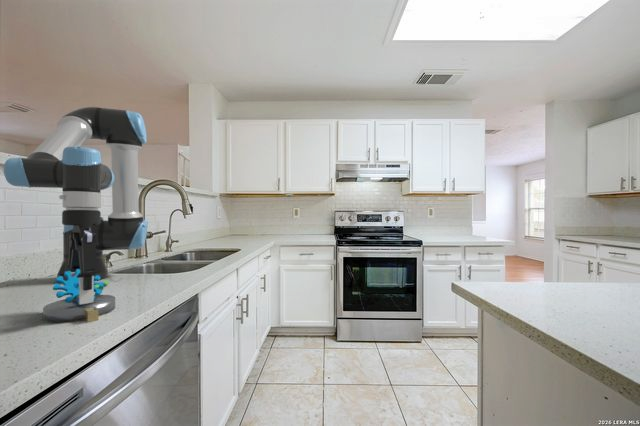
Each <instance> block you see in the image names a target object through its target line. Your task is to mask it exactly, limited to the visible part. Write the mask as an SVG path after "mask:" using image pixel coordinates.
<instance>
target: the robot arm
mask: <svg viewBox="0 0 640 426" xmlns="http://www.w3.org/2000/svg"><path fill="white" fill-rule="evenodd" d="M147 138H148V137H147V129H146V125H145V120H144V118H143V117H142V115H141V114H140V113H139V112H135V111H131V110H127V109H115V108H114V109H113V108H106V107H97V106H88V107H82V108H78V109H75V110H72V111H70V112H68V113H66V114H64V115H63V116H62V117H61V118H60V119H59V120H58V121H57V127H56V129H54V131H52V132H51V133H50V135H48V137H46V139H44V140H43V142H41V144H39V146H37V148H35V149H34V151H33V152H32V153H30V154H29V155H28V156H27V157H21V156H20V157H9V158H7V159H6V160H5V162H4V165H3V176H4V179H5V181H6V182H7V183H8V184H10V185H11V186H13V187H22V188H24V187H26V188H49V189H50V188H54V189H57V188H59V189H62V194H61V195H59V196H58V197H59V199H60V200H62V208H64V210H62V212H61V225H63V232H62V236H63V237H62V240H63V242H62V243H63V247H62V250H63V253H62V254H63V257H62V263H61V264H60V268H59V269H58V272H57V274H56V278H57V277H59V276H62V277H63V280H64V281H67V280H68V279H67V277H66V276H64V273H65V272H66V271H71V275H70V276H71V277H74V276H75V275H76V273H75V272H76V270H77V269H80V275H77V278H79V296H78V297H79V305H81V304H86V303H91V302H94V294H95V292H94V282H95V280H94V277H95V276H97V275H99V276H100V278H101V279H100V280H103V279H105V278H108V277H109V270H108V268H107V265H106V262H105V259H104V256H103V253H104V252H103V251H117V250H118V251H120V250H121V251H123V250H124V251H125V250H128V251H130V250H139V249H142V248H143V247H144V246H145V243H146V239H147V235H148V227H149V225H148V220H146V219H144V215H143V214H142V213H141V212H139V211H140V210H139V164H138V163H139V162H138V161H139V159H138V157H139V155H138V154H139V153H138V152H139V151H140V150H141V149H143V144H146V143H147V142H148V141H147ZM90 140H103V141H105V142H106V143H105V144H106V146H107V147H108V148H109V149H110V153H111V157H110V158H111V169H110V167H108V166H107V165H105V164H103V162H102V156H101V155H102V154H101V152H100V150H98V149H96V148H95V149H94V148H90V147H85V146H84V147H83V146H82V145H83V143H86V142H88V141H90ZM110 187H111V195H112V196H111V198H112V199H111V200H112V203H111V204H112V211H111V213H109V215H108V216H107V220H104V218H103V217H102V216H101V215H102V214H101V211H100V210H99V209H100V208H101V207H102V192H101V191H102V190H103V191H104V190H106V189H109V188H110ZM70 296H72V295H69V297H70Z"/></svg>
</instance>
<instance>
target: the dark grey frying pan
mask: <svg viewBox="0 0 640 426" xmlns="http://www.w3.org/2000/svg"><path fill="white" fill-rule="evenodd" d="M94 296H95V295H94ZM65 299H66V298H64V299H61V300H56V301H54V302H50V303H47V304H46V305H44V306H43V308H42V320H43V321H44V322H47V323H54V324H55V323H56V324H57V323H58V324H59V323H60V324H61V323H71V322H78V321H85V322H86V323H92V322H95V321H99V317H101V316H103V315H104V316H105V315H106V314H109V313H111V312H113V311H114V310H115V309H116V297H115V296H114V295H112V294H100V295H97V296H95V299H94V302H91V303H86V304H81V305H79V304H78V303H77V300H78V299H79V297H77V298H76V299H72V301H71V302H70V303H67V302H65Z"/></svg>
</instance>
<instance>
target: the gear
mask: <svg viewBox="0 0 640 426" xmlns="http://www.w3.org/2000/svg"><path fill="white" fill-rule="evenodd" d="M75 273H76V275H75V276H74V277H71V276H70V275H71V271H66V272H65V273H64V276H66V277H67V279H68V280H67V281H64V280H63V277H62V276H59V277H57V276H56V278H55V282H56V283H55V284H54V285H53V287H52V290H53V291H56V294H55V295H56V298H57V299H60V298H62V297H65V296H66V297H65V298H64V299H65V302H67V303H70V302H71V301H72V299H76V298H77V297H78V296H79V278H77V275H80V269H77V270H76V272H75ZM101 280H102V279H101V278H100V276H99V275H97V276H95V277H94V295H95V296H97V295H102V293H103V291H104V288H106V287H108V284H109V281H108V280H104V281H103V282H102V281H101ZM60 284H62V285H63V286H62V285H60ZM57 290H58V291H57ZM59 290H60V291H59ZM64 291H65V292H64ZM70 295H72V296H70ZM95 296H94V299H95ZM77 303H78V304H79V299H78V300H77Z"/></svg>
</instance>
